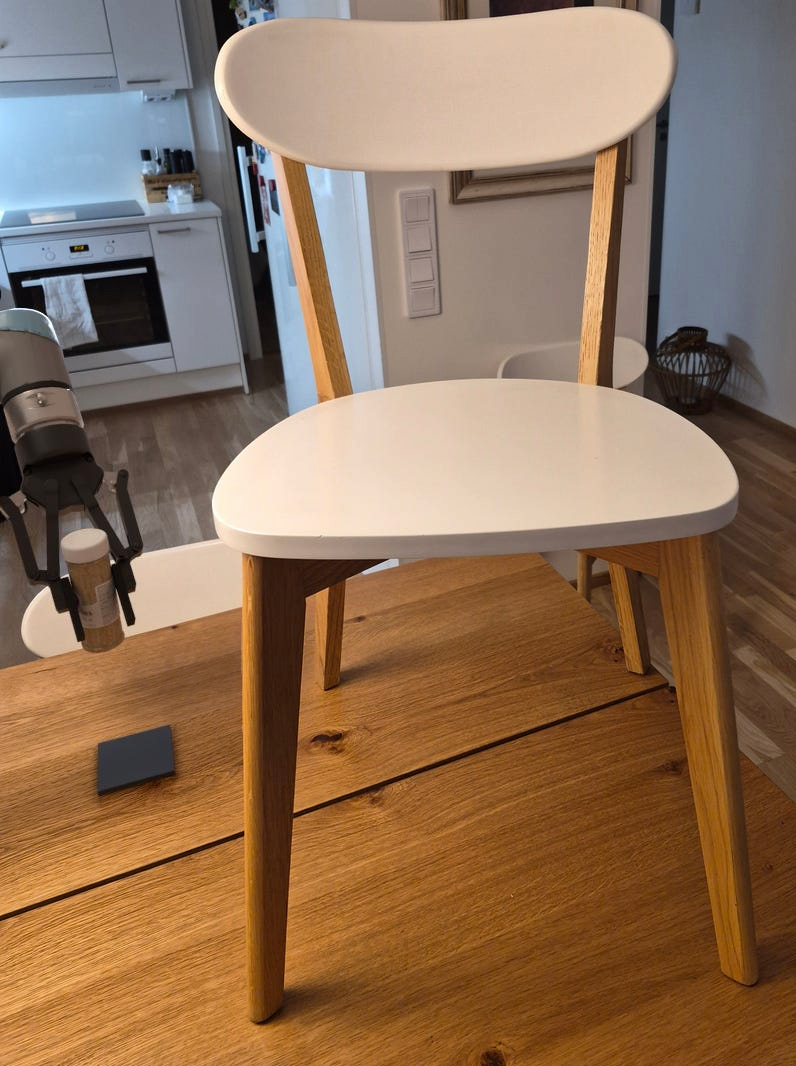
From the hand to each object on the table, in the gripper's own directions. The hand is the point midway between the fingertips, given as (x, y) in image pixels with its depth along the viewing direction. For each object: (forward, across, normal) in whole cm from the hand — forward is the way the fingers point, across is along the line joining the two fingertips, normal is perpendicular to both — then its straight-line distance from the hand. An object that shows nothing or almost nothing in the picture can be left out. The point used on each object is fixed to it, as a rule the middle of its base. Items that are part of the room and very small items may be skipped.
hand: (106, 630), depth 90 cm
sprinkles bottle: (0, 0, +6) cm, 6 cm away
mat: (+13, 0, +13) cm, 18 cm away
